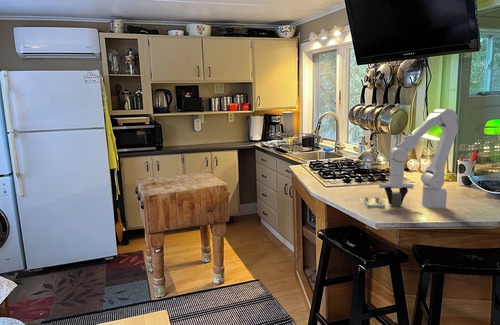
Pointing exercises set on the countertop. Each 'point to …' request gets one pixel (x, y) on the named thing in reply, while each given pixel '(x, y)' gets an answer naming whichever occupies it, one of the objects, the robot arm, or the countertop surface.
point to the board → (373, 202)
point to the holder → (375, 205)
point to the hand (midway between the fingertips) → (395, 203)
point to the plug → (396, 199)
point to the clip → (375, 199)
